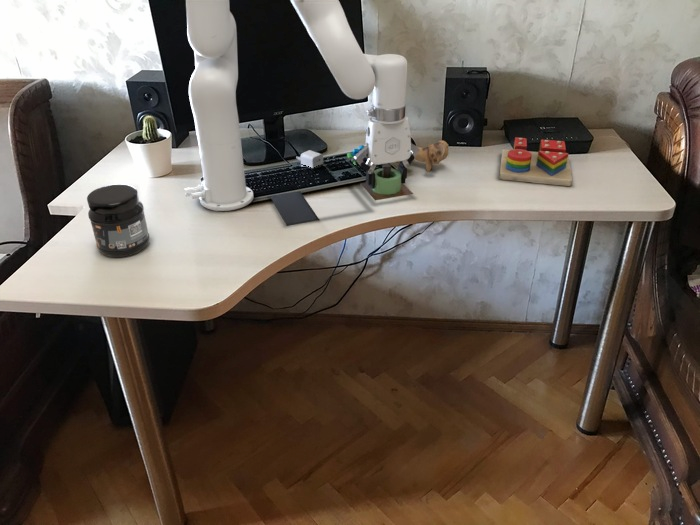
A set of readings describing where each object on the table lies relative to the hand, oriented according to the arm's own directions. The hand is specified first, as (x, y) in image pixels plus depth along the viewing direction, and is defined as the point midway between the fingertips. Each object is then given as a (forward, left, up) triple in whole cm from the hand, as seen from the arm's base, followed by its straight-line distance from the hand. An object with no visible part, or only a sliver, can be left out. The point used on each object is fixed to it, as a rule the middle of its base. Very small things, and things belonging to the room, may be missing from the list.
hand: (386, 183), depth 144 cm
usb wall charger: (-13, +22, -3) cm, 26 cm away
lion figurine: (+14, +9, -3) cm, 17 cm away
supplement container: (-61, -4, -3) cm, 61 cm away
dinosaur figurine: (+2, +17, -3) cm, 17 cm away
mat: (-17, 0, -2) cm, 17 cm away
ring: (0, 0, -1) cm, 1 cm away
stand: (0, 0, -2) cm, 2 cm away
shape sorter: (+42, -1, -3) cm, 42 cm away
